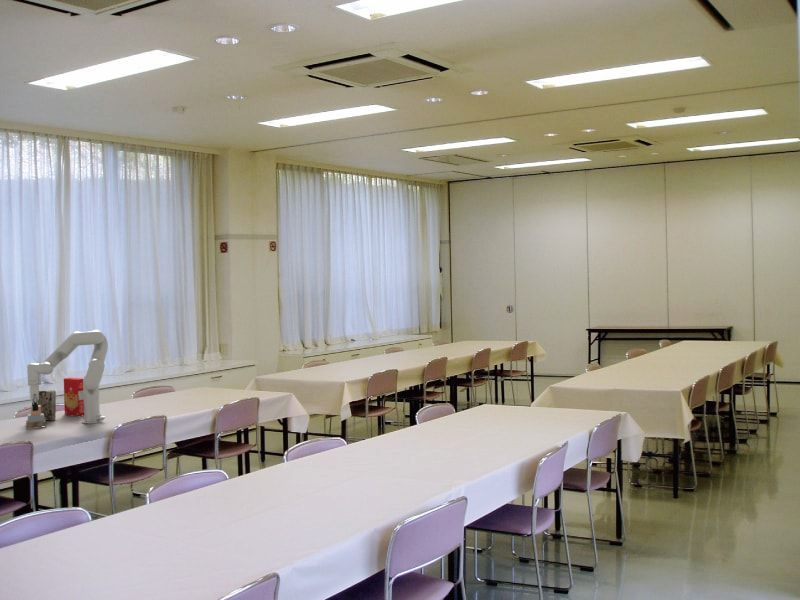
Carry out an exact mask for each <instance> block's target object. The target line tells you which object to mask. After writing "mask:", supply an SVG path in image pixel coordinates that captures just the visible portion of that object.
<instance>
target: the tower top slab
mask: <svg viewBox="0 0 800 600" xmlns="http://www.w3.org/2000/svg"><path fill="white" fill-rule="evenodd" d="M27 420H28V422H29V423H32V422H42V421H45V419H44V414H43V413H41V415H35V416H31V413H29V414H27Z"/></svg>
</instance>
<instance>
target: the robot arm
mask: <svg viewBox="0 0 800 600" xmlns="http://www.w3.org/2000/svg"><path fill="white" fill-rule="evenodd" d="M108 343H109V342H108V338H107V336H105V334H104V333H103V331H101V330H99V329H93V330H91V331H73V332H72V333H71V334H70V335H69V336H68V337H67V338H66V339H64V341H62V343H61V344H59V346H58V347H57V348H56V349H55V350H54V351H53V352H52V353H51V354H50V355H49V356H48V357H47V358H45V360H43V362H42V363H39V362H32V363H28V364H27V365H26V367H27V370H26V373H27V375H26V376H27V386H28V387H29V401H30V402H31V406H33V411H38V400H39V390H40V386H41V384H42V379H41V375H51V374H52V373H53V372H54V369H55V368H56V367H58V366H57V365H59V364H60V363H61V362H62V361H63V360H65V359H67V358H68V357H69V356H71V354H72V353H73V352H74V351H75V350H76V349H77V348H78V347H80V346H89V345H93V349H92V354H91V357H90V360H89V362H88V366H87V367H88V368H87V371H86V374H85V375H84V377H83V378H82V379H83V392H84V416H83V417H84V419H82V420H81V423H82V424H86V423H89V424H96V423H97V424H98V423H102V422H103V421H104V420H105V416H102V414H101V413H100V409H101V408H100V385H101V380H102V378H103V374H104V371H105V360H106V357H107V353H108V349H109V344H108Z"/></svg>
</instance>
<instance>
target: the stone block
mask: <svg viewBox="0 0 800 600" xmlns="http://www.w3.org/2000/svg"><path fill="white" fill-rule="evenodd" d="M56 395H57V392H56V390H55V389H45V390H44V389H39V400H38V405H40V406H41V413H43V414H44V419H45V420H51V421H55V420H56V415H57V413H56V411H57V410H56V407H57V406H56V397H57V396H56Z"/></svg>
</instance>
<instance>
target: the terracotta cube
mask: <svg viewBox="0 0 800 600" xmlns="http://www.w3.org/2000/svg"><path fill="white" fill-rule="evenodd" d="M30 414H31V416H35V415H41V406H40V405H38V411H33V406H32V405H30Z"/></svg>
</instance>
